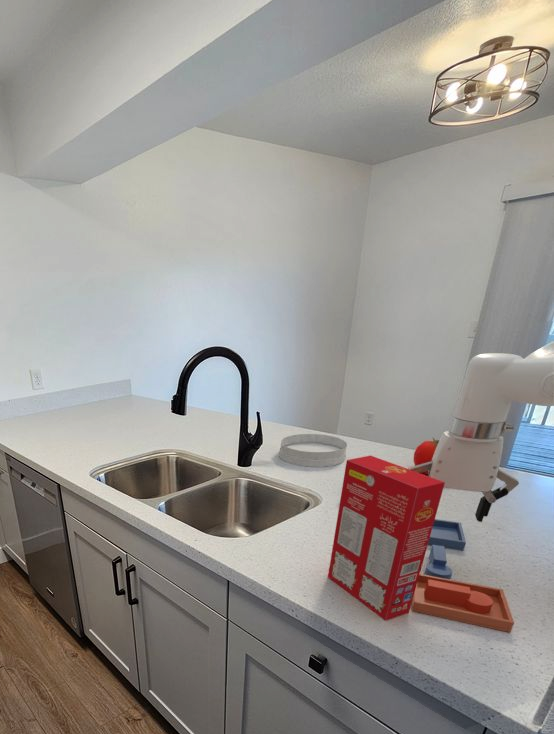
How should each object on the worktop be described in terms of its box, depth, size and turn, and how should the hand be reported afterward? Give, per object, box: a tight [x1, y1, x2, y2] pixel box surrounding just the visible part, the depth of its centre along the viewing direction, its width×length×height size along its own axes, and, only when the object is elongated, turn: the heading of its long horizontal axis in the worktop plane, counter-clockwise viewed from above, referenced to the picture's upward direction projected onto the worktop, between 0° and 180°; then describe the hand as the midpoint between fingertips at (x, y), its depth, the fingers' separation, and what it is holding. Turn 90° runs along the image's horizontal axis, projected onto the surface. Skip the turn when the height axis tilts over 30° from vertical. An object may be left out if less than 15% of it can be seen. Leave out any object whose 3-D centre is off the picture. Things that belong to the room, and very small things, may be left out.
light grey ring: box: [279, 433, 348, 468], centre depth 153 cm, size 22×22×5 cm
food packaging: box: [327, 454, 445, 621], centre depth 77 cm, size 15×5×25 cm, turn 20°
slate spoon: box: [423, 545, 453, 580], centre depth 88 cm, size 4×10×3 cm, turn 153°
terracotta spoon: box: [424, 579, 493, 614], centre depth 78 cm, size 4×10×3 cm, turn 63°
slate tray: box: [427, 518, 467, 551], centre depth 101 cm, size 14×10×2 cm
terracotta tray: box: [411, 573, 515, 633], centre depth 78 cm, size 14×10×2 cm
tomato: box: [413, 437, 440, 475], centre depth 132 cm, size 12×12×10 cm
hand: (448, 514), depth 85 cm, fingers open, 9 cm apart
